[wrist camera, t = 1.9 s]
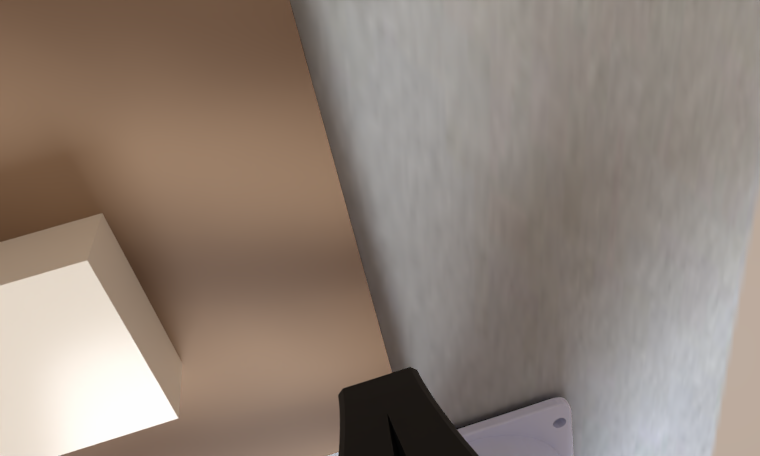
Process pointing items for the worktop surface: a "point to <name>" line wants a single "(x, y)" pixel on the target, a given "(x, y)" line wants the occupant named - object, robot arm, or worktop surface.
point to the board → (198, 205)
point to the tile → (78, 344)
